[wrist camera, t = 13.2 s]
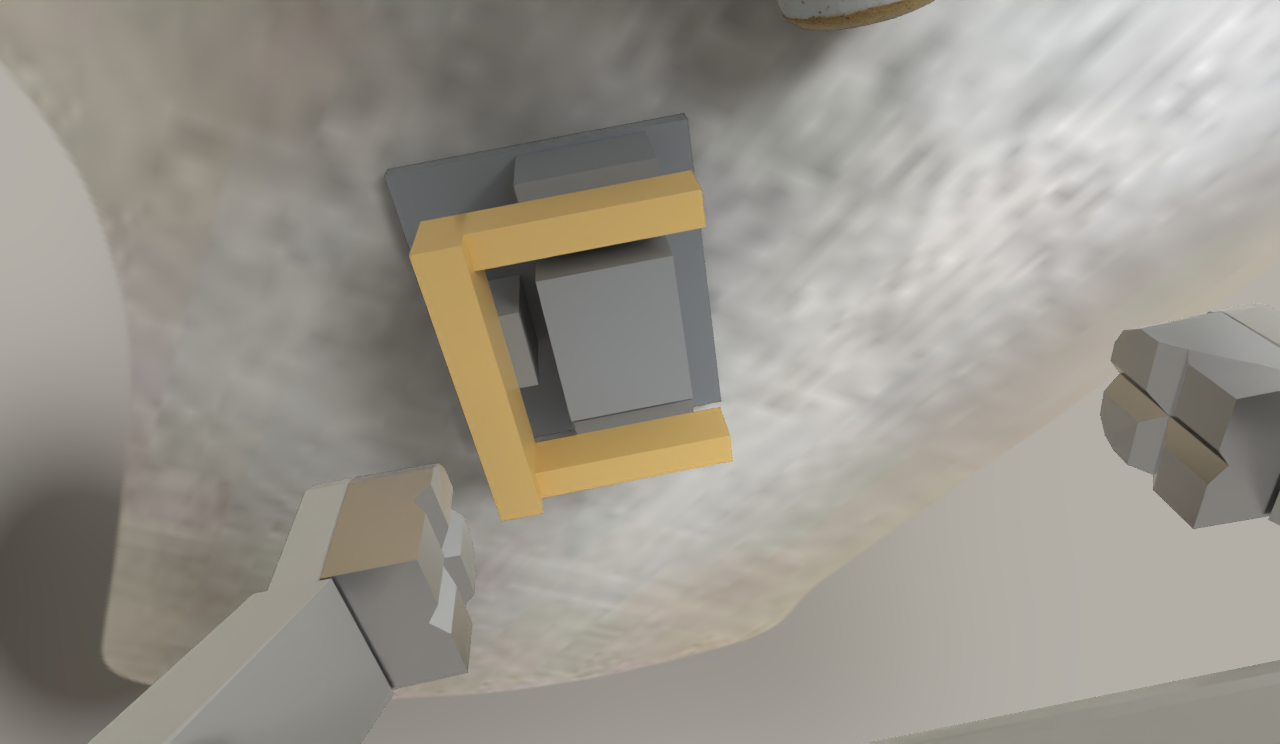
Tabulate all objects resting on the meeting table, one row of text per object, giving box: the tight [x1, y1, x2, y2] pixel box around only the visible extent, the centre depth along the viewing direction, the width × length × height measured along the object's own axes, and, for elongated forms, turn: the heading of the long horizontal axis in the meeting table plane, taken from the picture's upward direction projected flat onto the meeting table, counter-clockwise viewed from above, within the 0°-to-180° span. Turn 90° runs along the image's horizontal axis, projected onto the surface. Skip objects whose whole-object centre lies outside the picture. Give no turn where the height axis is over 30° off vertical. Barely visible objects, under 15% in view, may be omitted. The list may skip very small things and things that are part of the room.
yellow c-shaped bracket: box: [409, 170, 733, 521], centre depth 35 cm, size 12×14×4 cm
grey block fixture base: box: [384, 113, 721, 438], centre depth 38 cm, size 14×16×6 cm
